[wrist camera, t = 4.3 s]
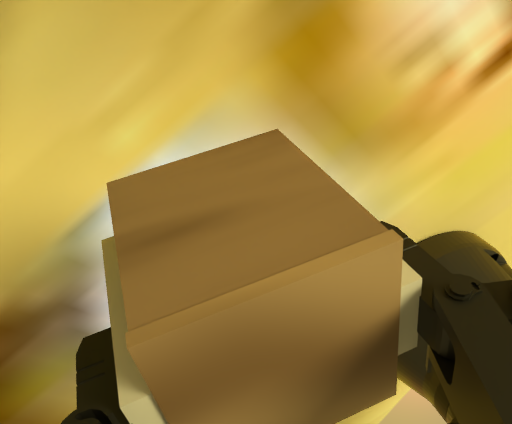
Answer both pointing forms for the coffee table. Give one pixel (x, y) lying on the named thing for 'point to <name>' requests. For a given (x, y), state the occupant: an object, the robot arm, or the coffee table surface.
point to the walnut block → (256, 288)
